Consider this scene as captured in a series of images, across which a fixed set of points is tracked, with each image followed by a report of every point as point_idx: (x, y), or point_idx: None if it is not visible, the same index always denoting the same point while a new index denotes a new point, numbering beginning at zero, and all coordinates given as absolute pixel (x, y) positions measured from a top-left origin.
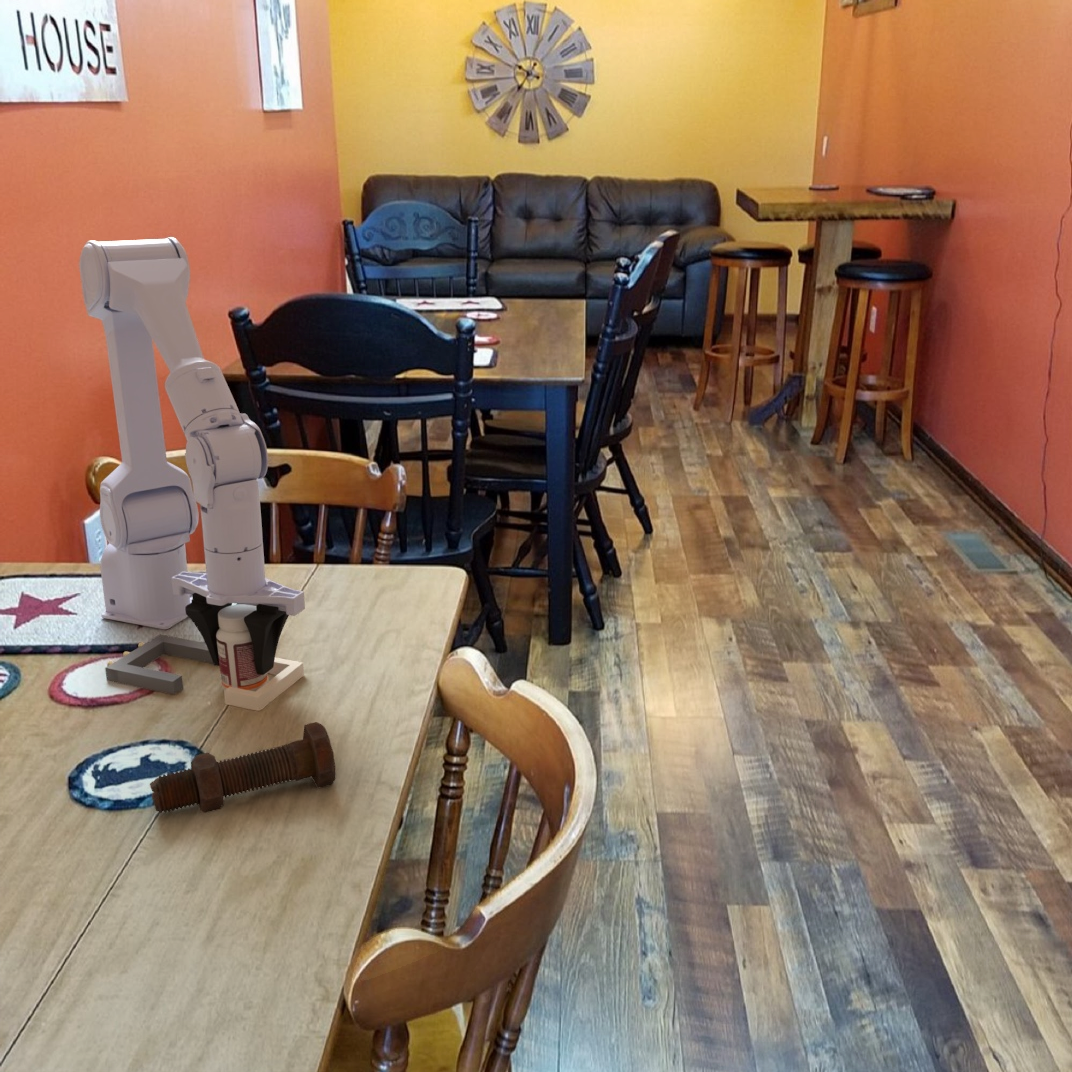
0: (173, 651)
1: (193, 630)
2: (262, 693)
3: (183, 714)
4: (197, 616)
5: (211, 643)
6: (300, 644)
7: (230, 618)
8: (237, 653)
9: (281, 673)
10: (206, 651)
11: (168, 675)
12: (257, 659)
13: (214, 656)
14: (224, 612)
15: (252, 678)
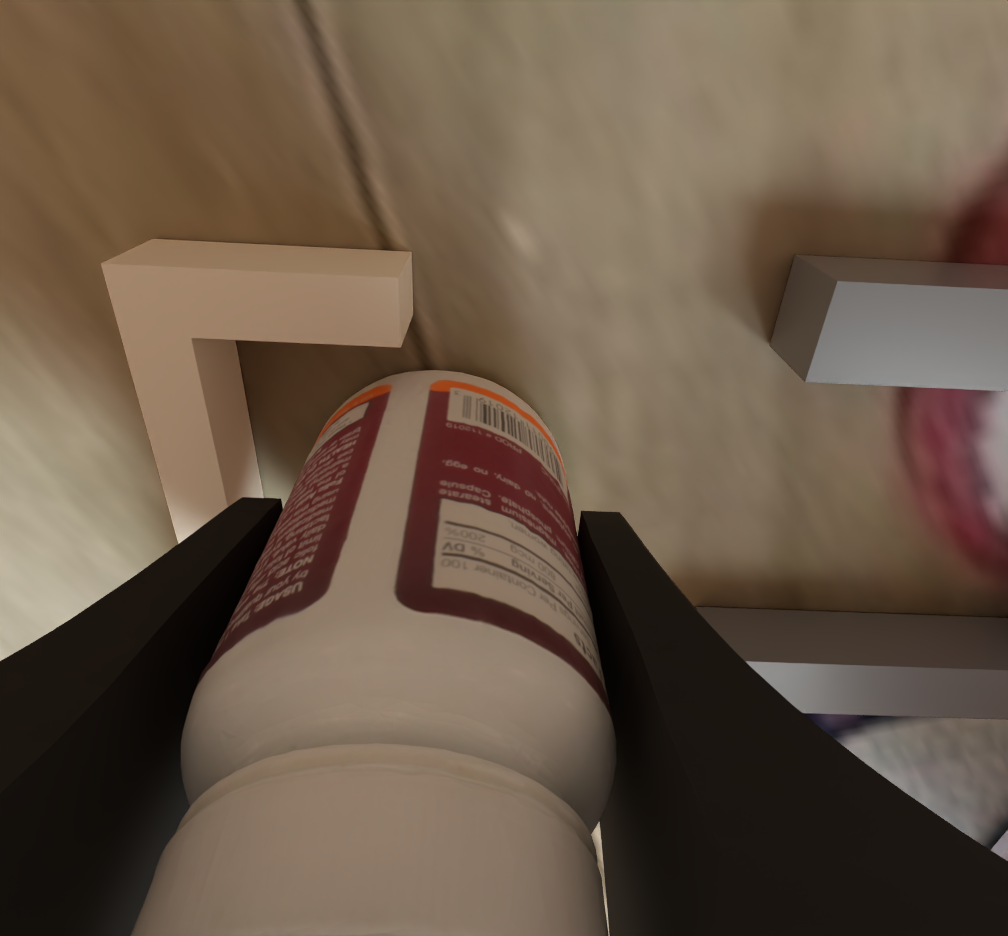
0: (967, 634)
1: (931, 789)
2: (124, 329)
3: (604, 4)
4: (864, 898)
5: (635, 616)
6: None
7: None
8: (311, 546)
9: None
10: (778, 656)
11: (902, 352)
12: (189, 555)
13: (610, 546)
14: None
15: (306, 464)
